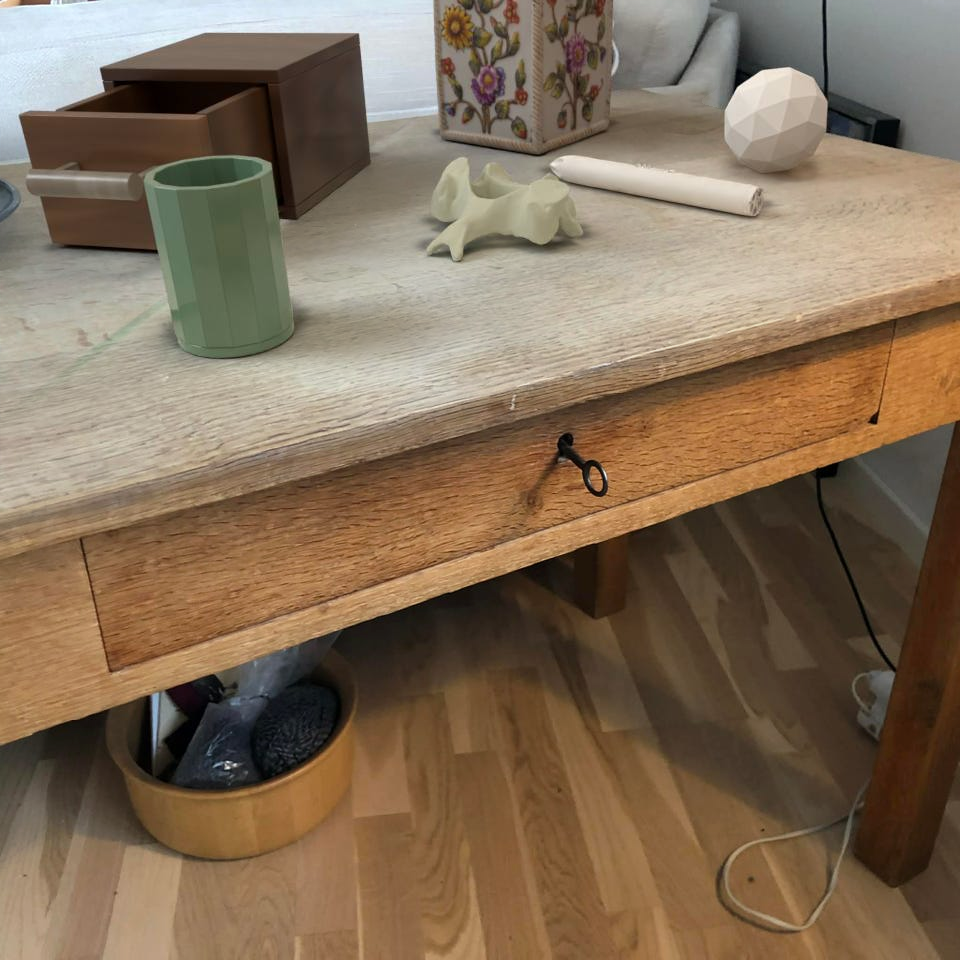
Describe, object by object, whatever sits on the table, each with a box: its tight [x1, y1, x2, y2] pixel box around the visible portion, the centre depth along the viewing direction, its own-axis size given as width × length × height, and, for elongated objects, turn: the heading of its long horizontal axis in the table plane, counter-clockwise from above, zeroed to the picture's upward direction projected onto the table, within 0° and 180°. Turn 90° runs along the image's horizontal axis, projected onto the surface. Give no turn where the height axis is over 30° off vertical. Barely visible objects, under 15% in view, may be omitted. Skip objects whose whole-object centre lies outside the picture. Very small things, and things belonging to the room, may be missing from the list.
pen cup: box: [143, 155, 295, 359], centre depth 54 cm, size 6×6×9 cm
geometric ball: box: [724, 66, 829, 174], centre depth 79 cm, size 8×8×8 cm
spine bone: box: [426, 156, 584, 262], centre depth 68 cm, size 12×10×5 cm
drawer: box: [18, 81, 283, 251], centre depth 69 cm, size 19×13×8 cm, turn 165°
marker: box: [549, 154, 765, 217], centre depth 76 cm, size 18×2×2 cm, turn 50°
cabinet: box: [99, 32, 372, 220], centre depth 80 cm, size 16×14×10 cm
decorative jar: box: [432, 0, 614, 156], centre depth 89 cm, size 12×12×18 cm
